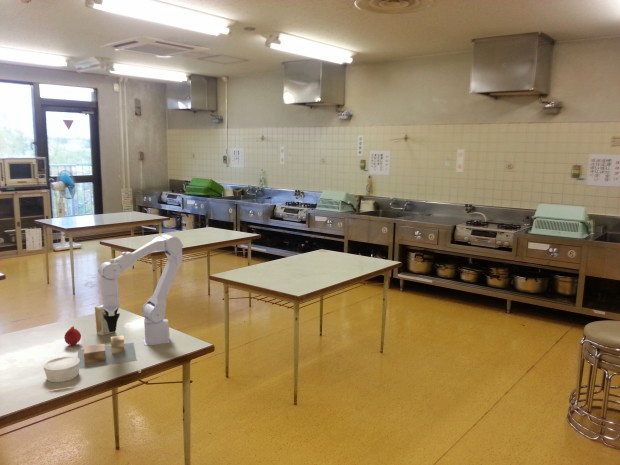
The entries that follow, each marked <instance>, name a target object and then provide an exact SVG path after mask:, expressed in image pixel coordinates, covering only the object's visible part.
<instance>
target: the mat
mask: <svg viewBox="0 0 620 465" xmlns="http://www.w3.org/2000/svg"><path fill="white" fill-rule="evenodd" d="M77 358H79V359H80V365H79V370H80V369H87V368H96V367H100V366H108V365H116V364H122V363H128V362H135V361H137V360H138V359H137V355H136V350H135V344H134V342H130V343H124V352H120V353H112V350H111V345H105V358H106V361H102V362H95V363H88V364H85V363H84V348H83V349H78V350H77Z"/></svg>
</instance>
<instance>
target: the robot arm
mask: <svg viewBox="0 0 620 465" xmlns="http://www.w3.org/2000/svg"><path fill="white" fill-rule="evenodd" d="M183 247H184V244H183V243H182V241H181V239H180V238H178V237H177V236H173V235H170V234H169V233H163V234H160V236H156V237H155V238H153V239H152V240H151V241H149V242H147V243H146V244H144V245H142V246H141V247H139V248H137V249H136V250H134V251H133V252H131V251H123V252H121V254H120V255H118V256H117V257H115V258H111V259H109V261H105V262H102V263H101V264H100V266H99V268H98V270H97V271H98V273H99V274H98V275H100V277H101V278H100V279H101V280H100V281H101V295H102V296H101V297H102V299H101V300H102V304H100V309H102V308H103V309H104V311H105V313H106V314H103V317H104V319H105V320H106V322H107V325H108V329H109V332H113V333H115V332H116V331H117V325H118V321H119V318H120V313H118V311H119V308H120V307H121V306H120V300H119V299H120V298H119V297H120V296H119V281H118V277H119V275H120V274H121V273H123V272H124V271H126V270H128V269H130V268H131V267H133V266H135V265H137V261H138V260H139V259H142V258H143V257H145V256H148V255H150V254H152V253H153V252H164V254H165V255H166V256H165V257H167V261H166V263H165V265H164V267H163V270H162V273H161V276H160V277H159V280H158V282H157V284H156V287H155V288H154V292H153V294H152V295H151V296H150V297H149V298H148V299H147V301H146V302H145V303H144V304H143V305H142V308H141V314H142V315H143V316H144V319H143V320H144V324H143V325H144V338H143V343H144V346H145V347H148V346H156V345H162V344H169V343H170V326H169V325H170V323H169V319H168V318H167V319H166V318H165V317H166V309H167V301H166V300H167V298H168V295H169V293H170V290H171V288H172V286H173V284H174V281H175V278H176V277H177V274H178V272H179V269H180V267H181V265H182V263H183Z"/></svg>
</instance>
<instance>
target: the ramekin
mask: <svg viewBox="0 0 620 465" xmlns="http://www.w3.org/2000/svg"><path fill="white" fill-rule="evenodd" d="M79 365H80V359H79V358H78V356H77V357H76V356H62V357H57V358H56V357H55V358H53V359H50V360H48V361H46V362H45V363H44V365H43V371H44V372H45V373H44V374H45V376H46V379H47V381H49V382H50V383H64V382H68V381H71V380H73V379H75V378H77V376H78V375H79V374H80V373H79V372H80V369H79Z"/></svg>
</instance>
